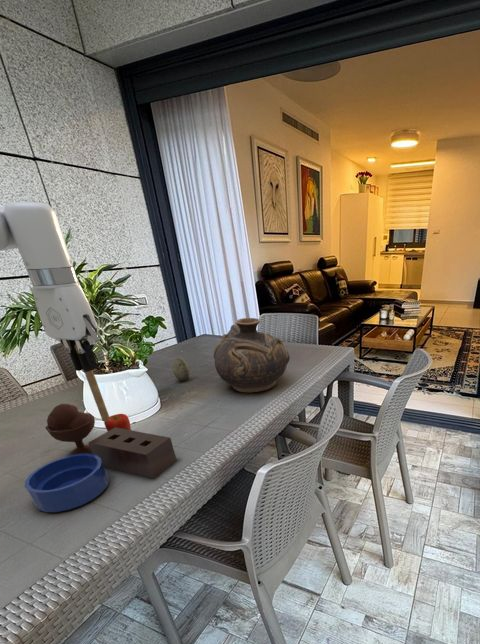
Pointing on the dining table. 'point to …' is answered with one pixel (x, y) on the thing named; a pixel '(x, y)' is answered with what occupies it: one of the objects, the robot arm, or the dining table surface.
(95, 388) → the cooking stick
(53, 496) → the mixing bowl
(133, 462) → the block
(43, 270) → the robot arm
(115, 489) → the dining table surface
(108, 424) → the apple
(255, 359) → the vessel
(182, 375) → the decorative egg
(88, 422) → the ice cream bowl
